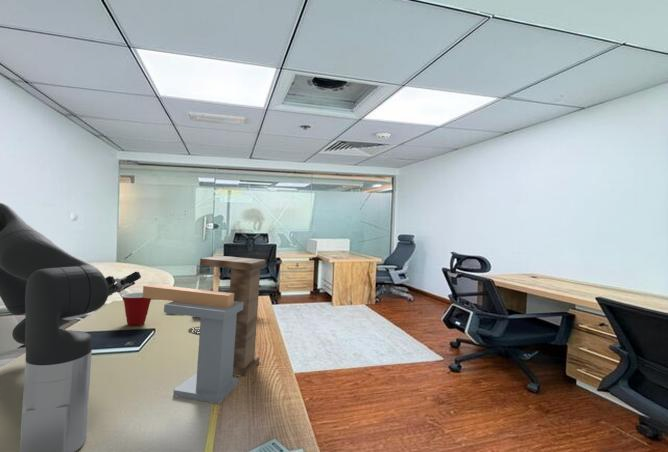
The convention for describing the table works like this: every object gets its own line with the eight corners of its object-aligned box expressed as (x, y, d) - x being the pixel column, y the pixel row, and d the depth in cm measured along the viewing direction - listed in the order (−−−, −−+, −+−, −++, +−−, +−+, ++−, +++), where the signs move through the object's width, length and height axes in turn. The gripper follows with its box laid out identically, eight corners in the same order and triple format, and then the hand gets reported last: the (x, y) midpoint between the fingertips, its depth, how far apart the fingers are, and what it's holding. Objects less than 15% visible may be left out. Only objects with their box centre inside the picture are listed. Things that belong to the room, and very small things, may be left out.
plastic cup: (151, 318, 132) (152, 289, 132) (152, 326, 123) (154, 295, 123) (119, 321, 126) (121, 291, 126) (119, 329, 117) (121, 297, 117)
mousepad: (214, 328, 127) (214, 326, 127) (212, 335, 119) (212, 333, 119) (189, 328, 124) (189, 327, 124) (185, 335, 117) (185, 333, 117)
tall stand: (259, 361, 99) (265, 259, 99) (244, 376, 89) (252, 263, 89) (211, 354, 101) (218, 255, 101) (193, 368, 91) (200, 258, 91)
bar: (233, 304, 81) (234, 293, 81) (227, 307, 79) (228, 295, 78) (151, 295, 86) (151, 284, 86) (142, 297, 83) (143, 286, 83)
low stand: (238, 383, 85) (243, 302, 85) (218, 404, 75) (224, 311, 75) (184, 374, 88) (189, 295, 87) (158, 393, 78) (164, 304, 78)
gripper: (48, 294, 81) (97, 267, 78) (98, 284, 95) (141, 261, 92) (59, 321, 80) (109, 294, 78) (108, 307, 94) (151, 284, 92)
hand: (126, 276), depth 85 cm, fingers open, 8 cm apart
